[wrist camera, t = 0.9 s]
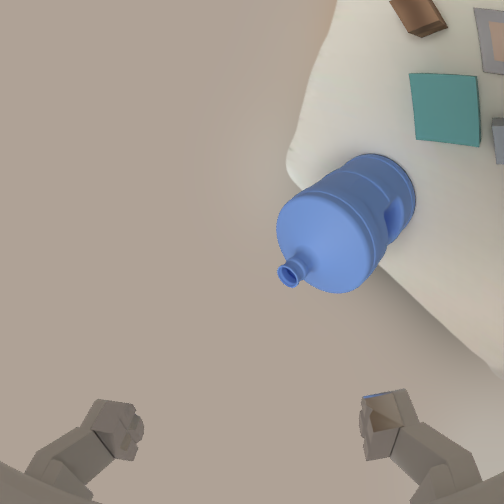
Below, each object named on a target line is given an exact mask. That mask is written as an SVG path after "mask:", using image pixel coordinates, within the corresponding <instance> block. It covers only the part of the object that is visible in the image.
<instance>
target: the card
mask: <svg viewBox="0 0 504 504" xmlns="http://www.w3.org/2000/svg"><path fill="white" fill-rule="evenodd" d="M474 13H475V18H476V23H477V29H478V34H479V41H480V48H481V55H482V64H483V72H489V73H496V74H502V75H504V11H499V10H491V9H482V8H474Z"/></svg>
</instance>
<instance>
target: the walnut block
mask: <svg viewBox="0 0 504 504" xmlns="http://www.w3.org/2000/svg"><path fill="white" fill-rule="evenodd" d="M389 2H390V4H391V5H392V7H393V8H394V10H395V12H396V13H397V15H398V16H399V18H400V20H401V21H402V23H403V25H404V26H405V28H406V30H407V31H408V33H411V34H414V35H416V36H419V37H421V38H422V37H424V36H427V35H430V34H432V33H435V32H438V31H440V30H443V29H446V28H448V26H447V25H446V23H445V21H444V19H443V18H442V16H441V14H440V13H439V11H438V9H437V8H436V6H435V5H434V3H433V1H432V0H391V1H389Z"/></svg>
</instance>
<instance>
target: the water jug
mask: <svg viewBox="0 0 504 504" xmlns="http://www.w3.org/2000/svg"><path fill="white" fill-rule="evenodd" d="M414 209H415V193H414V189H413V186H412V183H411V181H410V179H409V178H408V176H407V174H406V173H405V172H404V171H403V169H402V168H401V167H400V166H398V165H397V164H396V163H395V162H393V161H392V160H390V159H388V158H386V157H383V156H380V155H375V154H365V155H360V156H357V157H355V158H353V159H352V160H350V161H348V162H347V163H346V164H345V165H344V166H342V167H340V168H339V169H337V170H335V171H333V172H331V173H329V174H328V175H326V176H325V177H324V178H322V179H321V180H320V181H319V182H317V183H316V184H314V185H312V186H311V187H309V188H306V189H305V190H303V191H301V192H300V193H298V194H297V195H295V196H294V197H293V198H292V199H291V200H290V201H288V202H287V203H286V204H285V205H284V207H283V208H282V209H281V211H280V213H279V216H278V219H277V226H276V228H277V229H276V231H277V239H278V243H279V246H280V249H281V251H282V253H283V255H284V257H285V259H286V263H285V264H284V265H281V266H280V267H279V268H278V270H277V273H278V276H279V278H280V280H281V281H282V282H283V283H284V284H285V285H286V286H288V287H291V288H293V287H296V286H297V285H298V284H299V281H301V280H305V281H306V282H307V283H309V284H310V285H312V286H313V287H315V288H318V289H320V290H323V291H325V292H329V293H346V292H350V291H352V290H354V289H356V288H358V287H359V286H360V285H361V284H362V283H363V282H364V281H365V280H366V279H367V278H368V277H369V276H370V275H371V274H372V272H373V271H374V270H375V268H376V267H377V265H378V263H379V261H380V260H381V259H382V257H383V256H384V254H385V251H386V248H387V245H389V244H390V243H392V242H393V241H394V240H395V239H396V238H397V237H398V235H399V234H400V233H401V231H402V230H403V229H404V228H405V227H406V225H407V224H408V223H409V221H410V220H411V218H412V216H413V213H414Z"/></svg>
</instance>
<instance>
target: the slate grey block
mask: <svg viewBox="0 0 504 504" xmlns="http://www.w3.org/2000/svg"><path fill="white" fill-rule="evenodd" d="M492 130H493V137H494V145H495V153H496V164H504V118H493V119H492Z"/></svg>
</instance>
